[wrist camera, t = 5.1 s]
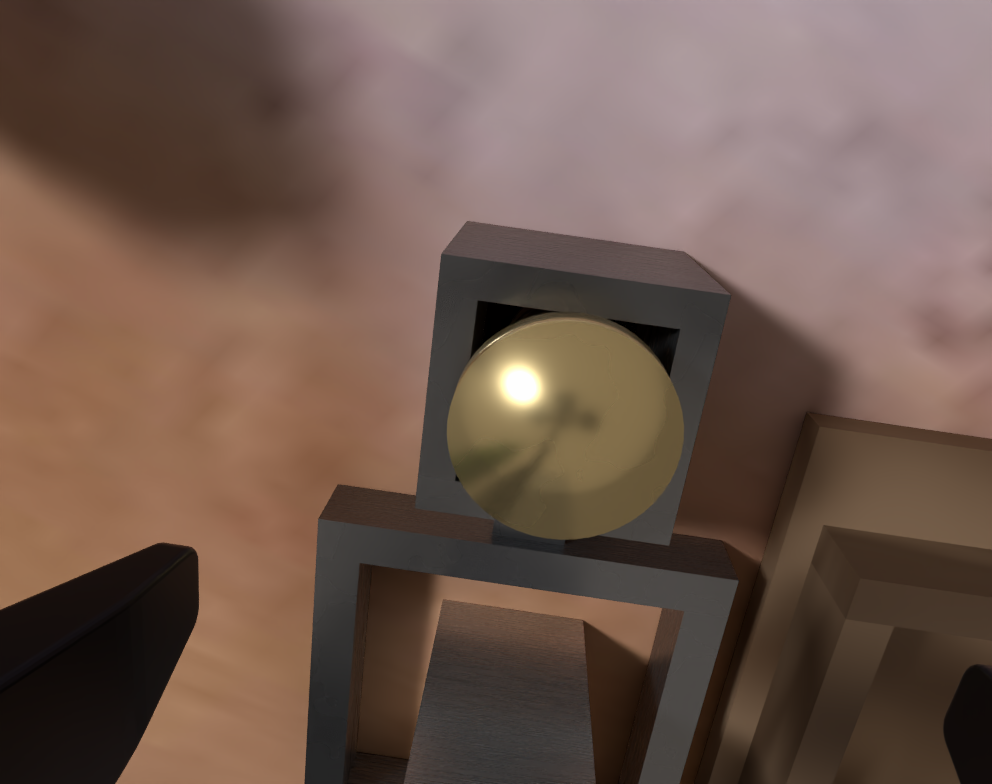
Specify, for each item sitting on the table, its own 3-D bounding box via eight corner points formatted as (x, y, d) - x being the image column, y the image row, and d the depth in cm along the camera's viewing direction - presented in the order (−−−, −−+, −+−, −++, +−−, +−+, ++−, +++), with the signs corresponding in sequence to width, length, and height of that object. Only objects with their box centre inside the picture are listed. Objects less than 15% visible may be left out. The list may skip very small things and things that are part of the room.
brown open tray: (1022, 886, 25) (1093, 999, 22) (679, 833, 26) (699, 938, 22) (1248, 476, 20) (1388, 546, 17) (807, 412, 20) (858, 469, 17)
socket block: (643, 822, 25) (666, 979, 21) (320, 772, 26) (269, 918, 21) (797, 268, 19) (882, 316, 14) (355, 204, 19) (292, 232, 14)
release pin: (625, 433, 20) (656, 554, 14) (465, 410, 20) (435, 522, 14) (658, 274, 18) (708, 341, 13) (486, 250, 19) (460, 305, 13)
